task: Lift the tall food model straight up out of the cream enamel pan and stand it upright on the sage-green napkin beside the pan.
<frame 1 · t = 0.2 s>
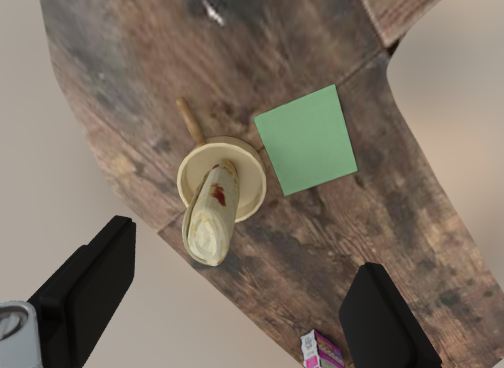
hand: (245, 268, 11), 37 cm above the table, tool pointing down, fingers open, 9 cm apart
candy bar box: (319, 342, 69), on the table
food model: (224, 176, 50), resting on pan
pan: (224, 176, 50), on the table
napkin: (307, 144, 47), on the table
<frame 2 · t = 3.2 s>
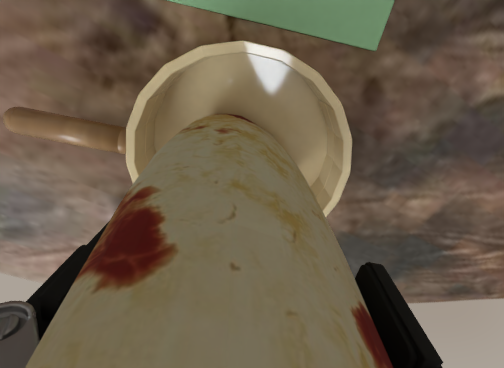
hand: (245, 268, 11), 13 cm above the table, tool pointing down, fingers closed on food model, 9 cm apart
food model: (241, 148, 22), resting on pan, touching gripper
pan: (241, 147, 22), on the table
when the fingers open (9 cm above the table, at t = 11.4 s): food model stays where it is, on the table.
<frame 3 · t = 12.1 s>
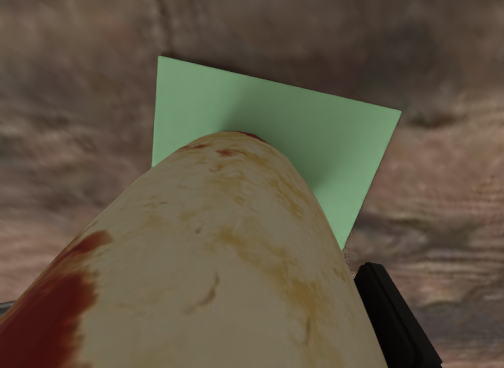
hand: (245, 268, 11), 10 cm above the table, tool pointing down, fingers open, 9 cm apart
food model: (252, 169, 20), resting on napkin, touching gripper
napkin: (259, 180, 20), on the table
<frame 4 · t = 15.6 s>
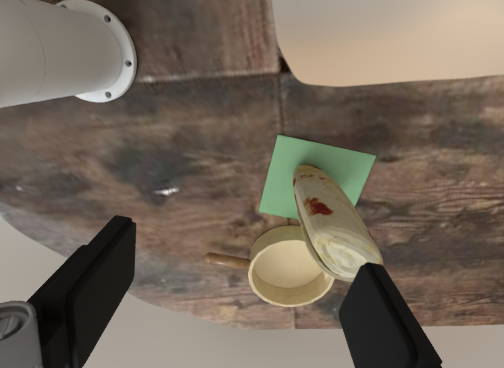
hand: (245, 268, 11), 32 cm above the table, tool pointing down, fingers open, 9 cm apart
food model: (311, 179, 44), resting on napkin
pan: (288, 258, 51), on the table
napkin: (313, 184, 45), on the table
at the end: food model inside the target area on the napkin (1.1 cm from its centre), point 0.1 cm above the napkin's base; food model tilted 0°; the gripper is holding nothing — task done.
